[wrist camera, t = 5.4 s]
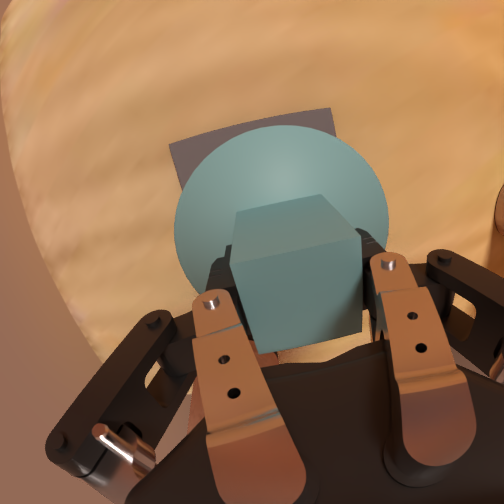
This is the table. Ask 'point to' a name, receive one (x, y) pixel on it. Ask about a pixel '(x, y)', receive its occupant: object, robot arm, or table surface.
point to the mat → (200, 146)
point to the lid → (284, 231)
